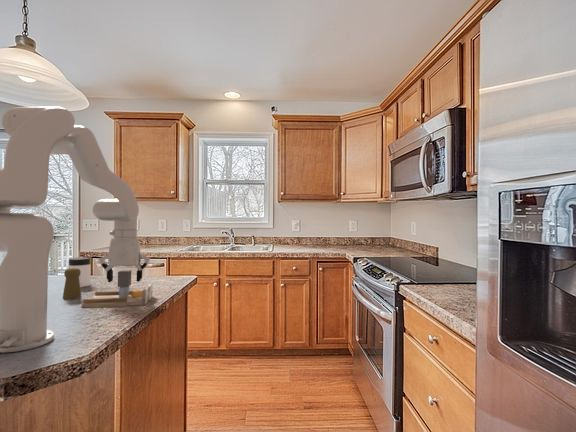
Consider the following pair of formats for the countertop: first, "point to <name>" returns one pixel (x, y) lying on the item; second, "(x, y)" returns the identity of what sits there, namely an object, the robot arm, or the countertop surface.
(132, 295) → the ball
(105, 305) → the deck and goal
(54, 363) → the countertop surface
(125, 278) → the grey stepped block
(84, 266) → the jar
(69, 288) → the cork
